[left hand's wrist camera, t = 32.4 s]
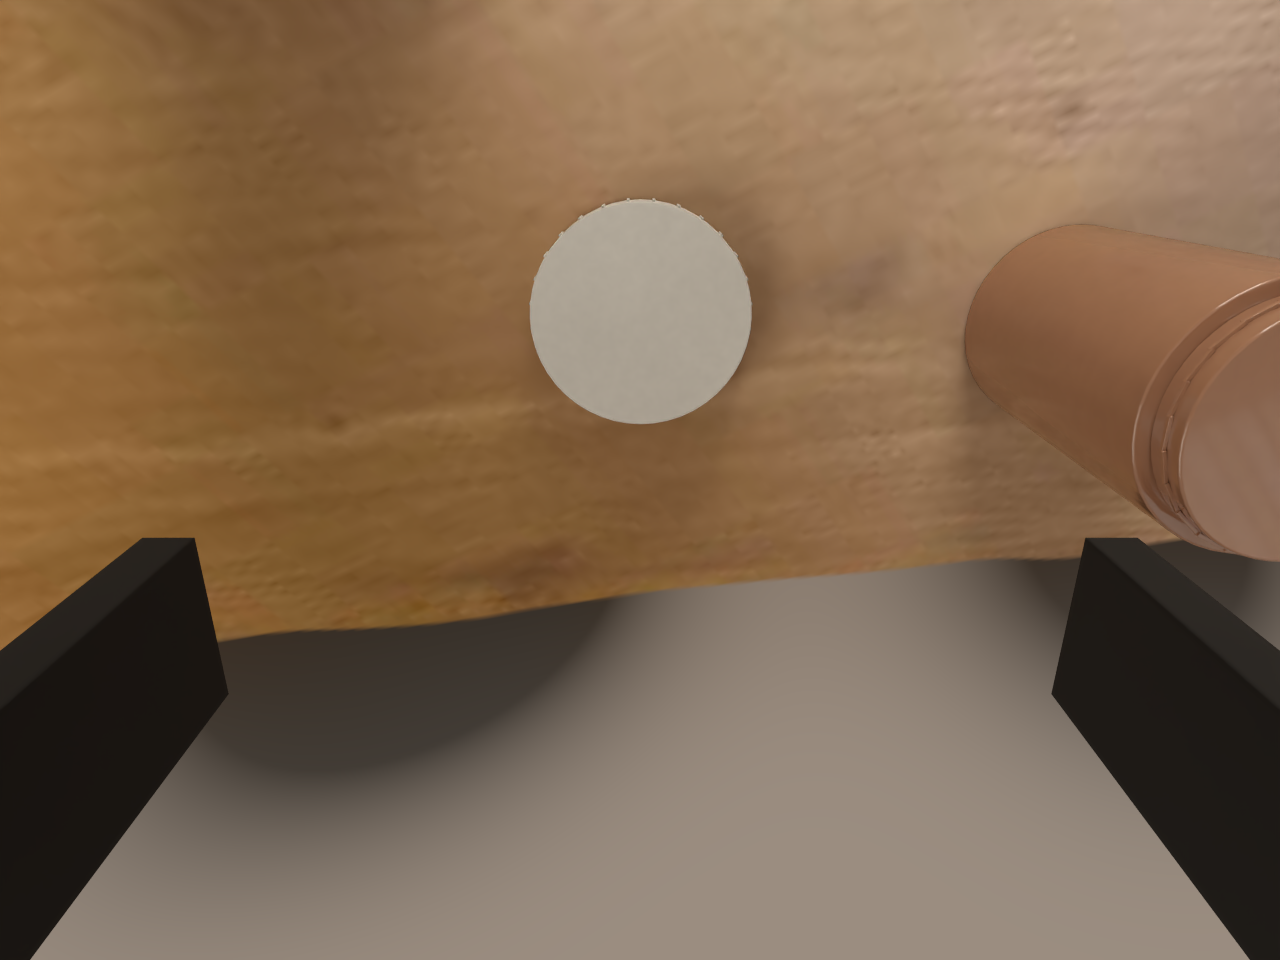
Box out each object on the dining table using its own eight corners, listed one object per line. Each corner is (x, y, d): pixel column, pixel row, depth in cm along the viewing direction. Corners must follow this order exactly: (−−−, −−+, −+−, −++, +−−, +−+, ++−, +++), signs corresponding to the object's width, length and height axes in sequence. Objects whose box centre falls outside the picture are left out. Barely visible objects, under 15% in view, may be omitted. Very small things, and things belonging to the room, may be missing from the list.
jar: (1142, 416, 39) (1431, 574, 25) (954, 421, 39) (1133, 581, 25) (1181, 221, 36) (1540, 273, 22) (976, 227, 36) (1198, 282, 22)
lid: (753, 197, 36) (759, 200, 34) (743, 413, 39) (747, 425, 37) (527, 197, 36) (522, 200, 34) (537, 413, 39) (533, 425, 37)
